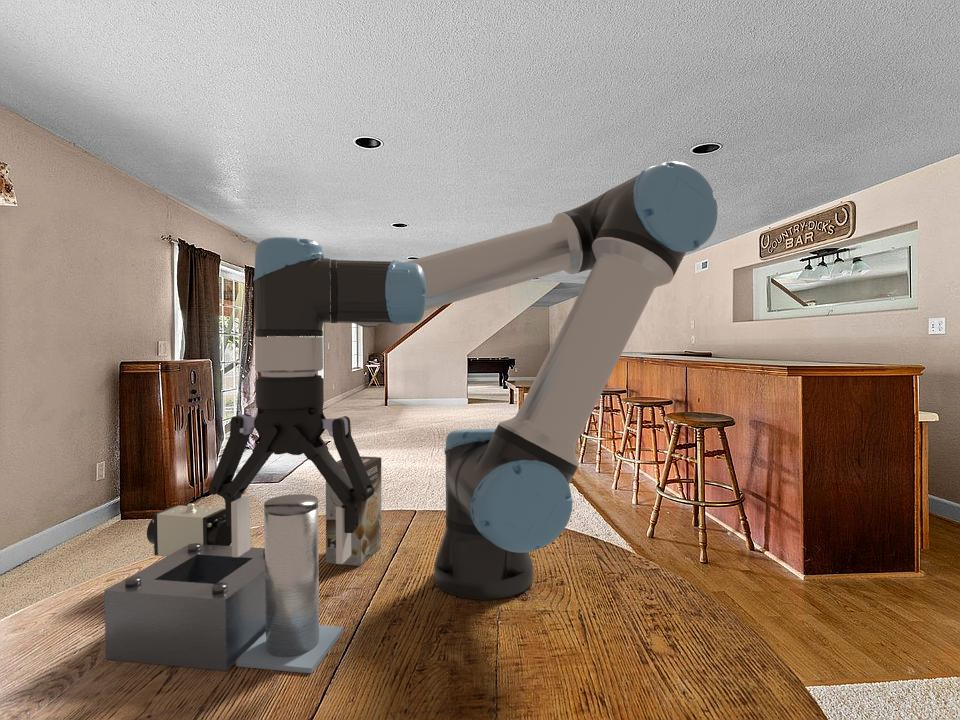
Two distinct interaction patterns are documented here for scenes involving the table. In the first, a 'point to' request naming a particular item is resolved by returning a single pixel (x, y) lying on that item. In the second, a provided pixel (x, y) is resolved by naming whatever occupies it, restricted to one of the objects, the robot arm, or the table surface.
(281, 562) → the metal cylinder
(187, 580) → the housing
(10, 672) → the table surface
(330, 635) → the pad
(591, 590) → the table surface
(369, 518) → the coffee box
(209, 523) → the pneumatic valve
